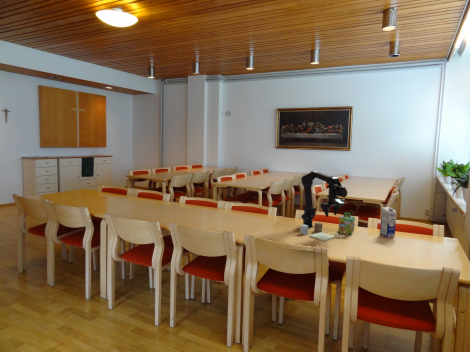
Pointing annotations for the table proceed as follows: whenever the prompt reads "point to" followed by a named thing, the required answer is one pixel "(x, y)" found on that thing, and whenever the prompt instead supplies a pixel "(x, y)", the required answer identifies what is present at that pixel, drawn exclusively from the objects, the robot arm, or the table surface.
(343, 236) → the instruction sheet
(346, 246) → the table surface
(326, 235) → the plate
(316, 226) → the walnut block
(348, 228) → the chalk box
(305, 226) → the gray block
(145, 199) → the table surface
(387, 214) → the milk carton
